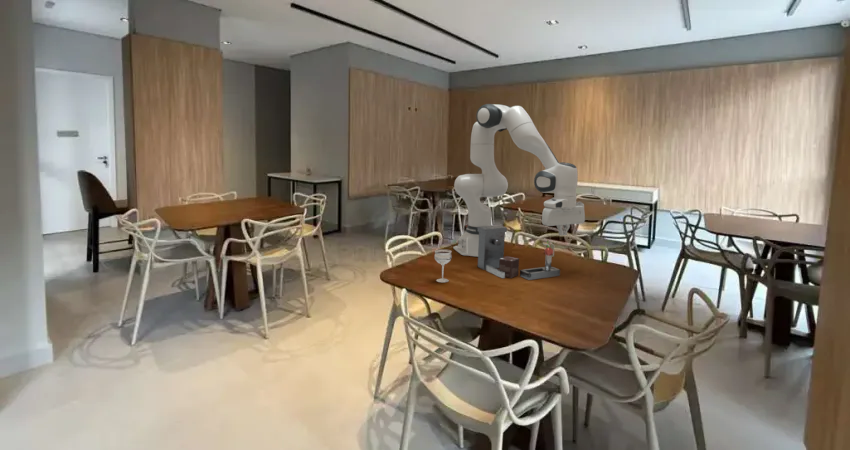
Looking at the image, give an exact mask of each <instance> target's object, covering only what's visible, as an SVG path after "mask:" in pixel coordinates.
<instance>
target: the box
mask: <svg viewBox="0 0 850 450" xmlns="http://www.w3.org/2000/svg"><path fill="white" fill-rule="evenodd" d="M519 268H520V258H518V257H513V256H509V255H506V256H504V257H503V258H500V259H499V268H498V270H501V271H503V272H505V278H508V279H509V278H510V279H512V278H515V277H518V275H519V272H520V270H519Z"/></svg>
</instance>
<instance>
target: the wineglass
mask: <svg viewBox="0 0 850 450" xmlns="http://www.w3.org/2000/svg"><path fill="white" fill-rule="evenodd" d="M452 258H453V257H452V250H450V249H444V248H443V249H441V248H440V249H436V250H434V260H435V261H436V262H437V264H440V265H441V278H438V279H436V280H435V281H436V282H438V283H448V282H449V279H447V278H444V268H445V266H446V265H447V264H448V263H450V262H451V260H452Z"/></svg>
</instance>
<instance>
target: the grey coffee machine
mask: <svg viewBox="0 0 850 450" xmlns="http://www.w3.org/2000/svg"><path fill="white" fill-rule="evenodd" d="M507 229H508V227H506V226H503V225H499V224H496V225H491V226H481V227H478V230H477V231H478V232H479V246H478V257H477V267H478V268H479V269H481V270H485V271H486V272H487V273H490V274H493V275H494V276H496V277H499V278H501V279H505V278H506V277H505V272H503V271H501V270H499V259H500V258H503V257H505V256H504V255H505V235H506V233H507V231H508V230H507Z"/></svg>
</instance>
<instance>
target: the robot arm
mask: <svg viewBox="0 0 850 450" xmlns="http://www.w3.org/2000/svg"><path fill="white" fill-rule="evenodd" d="M475 115H476V117H475V118H476V121H475V122H474V124H473V125H472V128H471V129H472V130H471V135H470V149H469V150H470V151H469V152H470V153H469V154H470V155H469V156H470V157H469V159H470V162H471V163H472V164H473V165H474V166H476V167H478V168H480V169H481V173H465V174H460V175H458V176H457V177H456V179H455V180H454V184H453V186H454V187H453V189H454V190H455V193H456V194H457V195H458V196H459V197H460V198H461V199H462V200H463V201H464V202H465V205H466V207H467V214H468V215H467V216H468V217H467V219H468V224H465V228H466V229H465V232H464V233H463V234H461V236H459V237H458V240H457V243H458V244H457V245H455V246H452V247H453V250H455V251H456V252H457V253H458V254H460V255H462V256H468V257H469V256H470V257H477V258H478V246H479V232H478V231H477V230H478V227H481V226H492V209H491V208H490V206H488V205H486V204H485V203H482V202H481V198H490V197H491V198H494V197H501V196H504V195H505V194H506V193H507V190H508V188H509V182H508V179H507V178H506V177H505V175H503V174H502V173H501V172H500V171H499V169H498V168H497V165H496V162H495V134H496V133H497V132H503V131H506V130H507V131H508V134H509V136H510V138H511V140H512V141H513V143H514V144H515V145H516V146H517V148H519V149H520V150H522V151H526V152H529V153H531V154H533V155H535V156H536V157H537V158H538V159H539V160H540V163H541V164H542V166H543V167H544V168H545V169H544V170H539V171H538V172H537V173H536V174H535V176H534V179H533V184H534V187H535V190H537V191H538V192H540V193H543V194H544V193H545V194H547V193H554V195H553V196H554V197H551V198H550V199H547V200H545V201H544V202H543V207H544V208H543V210H542V214H541V223H542V225H543V226H546V227H553V226H556V229H557V230H558V236H567V235H568V231H569V229H570V227H571V225H578V224H579V225H580V224H584V223H585V221H586V215H585V214H586V213H585V204H584V203H583V202H582V201H577V188H578V183H579V182H578V178H579V177H578V176H579V175H578V174H579V173H578V168H577V166H576V165H575V164H573V163H570V162H561V161H560V162H559V160H558V158H557V157H556V155H555V154H554V152H553V151H552V149H551V147H550V146H549V145H548V143H547V142H546V140H545V139H544V138H543V137H542V135H541V134H540V133H539V131H538V128H537V126H536V125H535V123H534V122H533V119H532V118H531V117H530V115H529V113H527V111H526V110H525V108H523V106H521V105H513V106H509V105H504V104H499V103H498V104H494V103H486V104H483V105H481V106H480V107H479V108H478V109H477V111H476V114H475ZM563 227H564V228H563Z"/></svg>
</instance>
